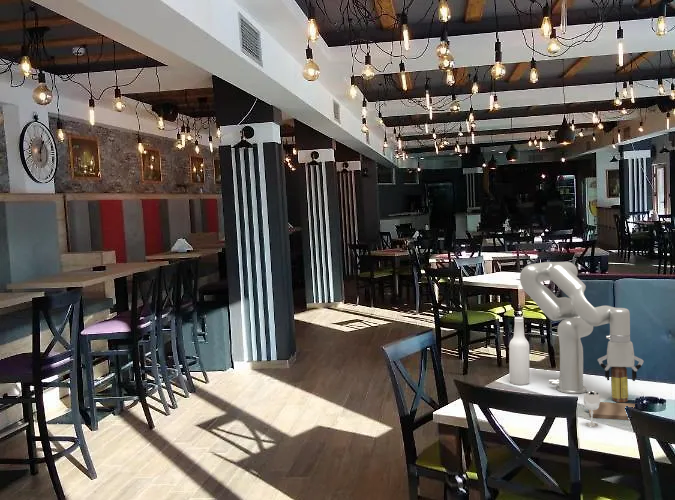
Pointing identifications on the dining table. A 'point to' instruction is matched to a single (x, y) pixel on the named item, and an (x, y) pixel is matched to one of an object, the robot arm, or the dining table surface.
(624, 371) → the sauce bottle
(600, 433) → the dining table surface
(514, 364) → the alcohol
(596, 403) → the wineglass
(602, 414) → the walnut board
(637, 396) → the dining table surface
